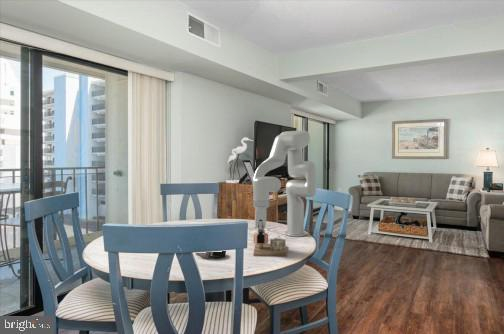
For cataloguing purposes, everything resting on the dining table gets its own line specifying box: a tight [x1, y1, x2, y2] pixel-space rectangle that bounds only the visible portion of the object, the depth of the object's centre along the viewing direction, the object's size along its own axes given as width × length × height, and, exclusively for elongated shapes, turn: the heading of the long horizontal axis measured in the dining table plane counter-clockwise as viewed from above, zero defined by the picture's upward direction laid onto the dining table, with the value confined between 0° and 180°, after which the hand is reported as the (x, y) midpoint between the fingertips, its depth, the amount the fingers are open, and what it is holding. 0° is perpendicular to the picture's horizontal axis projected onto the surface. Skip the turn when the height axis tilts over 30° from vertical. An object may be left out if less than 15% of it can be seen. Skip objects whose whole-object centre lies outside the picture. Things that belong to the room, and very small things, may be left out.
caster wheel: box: [195, 251, 227, 260], centre depth 154 cm, size 7×11×10 cm
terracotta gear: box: [253, 232, 269, 244], centre depth 164 cm, size 7×7×4 cm
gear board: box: [253, 237, 288, 258], centre depth 164 cm, size 18×15×6 cm
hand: (261, 240), depth 164 cm, fingers closed on terracotta gear, 6 cm apart
